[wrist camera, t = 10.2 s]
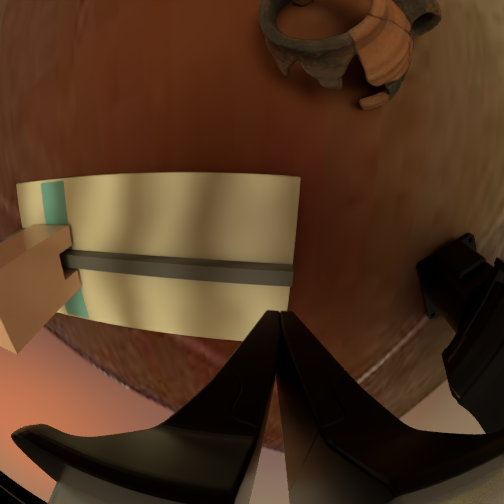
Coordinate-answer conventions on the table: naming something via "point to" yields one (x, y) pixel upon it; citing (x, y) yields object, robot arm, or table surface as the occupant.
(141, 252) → the rail board
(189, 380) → the table surface
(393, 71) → the pottery mug
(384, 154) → the table surface
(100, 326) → the table surface
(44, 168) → the table surface
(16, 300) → the notched tan block
